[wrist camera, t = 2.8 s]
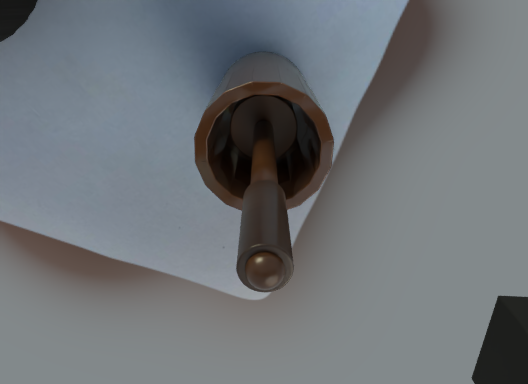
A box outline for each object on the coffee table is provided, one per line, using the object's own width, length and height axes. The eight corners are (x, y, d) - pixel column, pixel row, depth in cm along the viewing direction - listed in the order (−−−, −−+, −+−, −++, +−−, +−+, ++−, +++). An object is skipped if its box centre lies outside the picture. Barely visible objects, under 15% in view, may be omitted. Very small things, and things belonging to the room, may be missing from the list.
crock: (310, 53, 41) (340, 84, 25) (304, 141, 44) (326, 216, 29) (219, 49, 41) (192, 79, 25) (219, 138, 44) (196, 212, 29)
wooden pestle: (297, 89, 34) (348, 216, 14) (293, 151, 36) (332, 341, 16) (232, 87, 33) (187, 211, 14) (231, 149, 35) (192, 338, 16)
